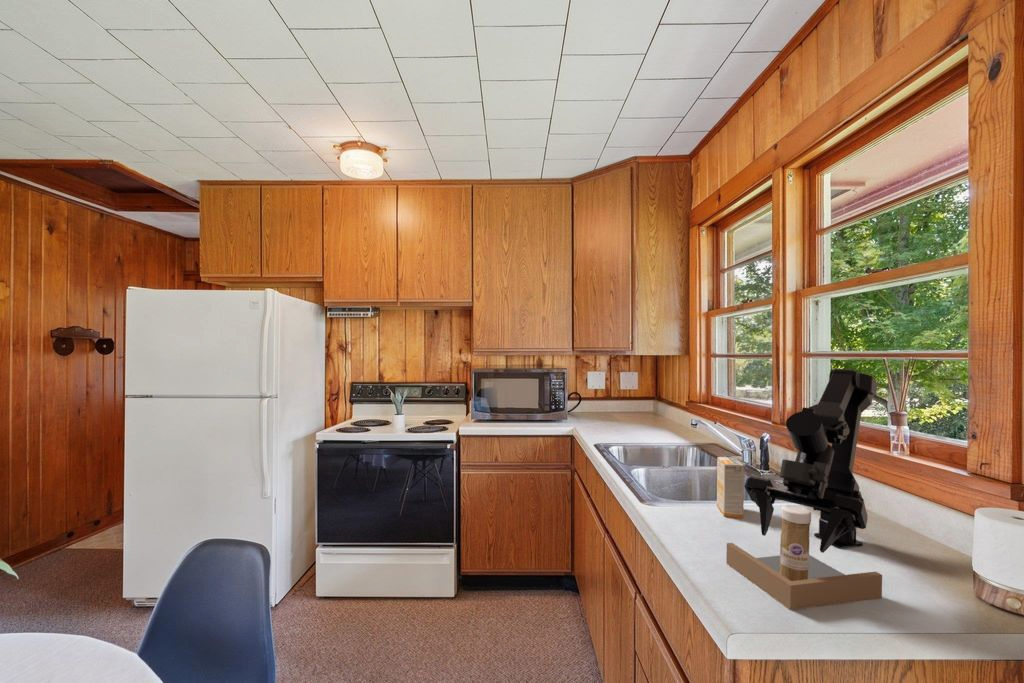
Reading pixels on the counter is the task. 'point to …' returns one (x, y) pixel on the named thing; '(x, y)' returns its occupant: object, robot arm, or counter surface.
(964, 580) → the counter surface
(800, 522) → the sprinkles bottle
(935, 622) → the counter surface
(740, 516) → the supplement box
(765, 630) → the counter surface
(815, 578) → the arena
